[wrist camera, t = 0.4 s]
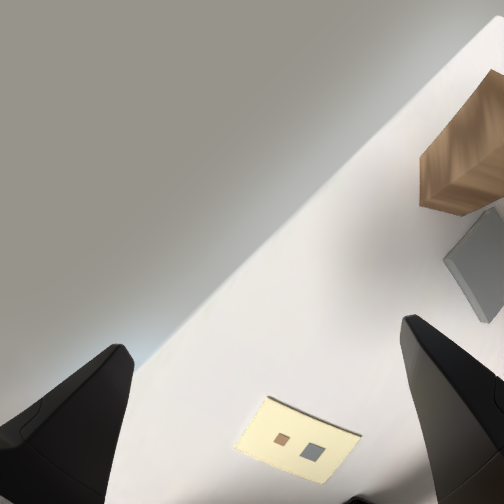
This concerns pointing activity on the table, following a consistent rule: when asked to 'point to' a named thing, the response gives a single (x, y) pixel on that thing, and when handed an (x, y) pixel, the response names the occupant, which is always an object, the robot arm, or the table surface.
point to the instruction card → (295, 442)
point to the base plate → (481, 265)
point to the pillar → (467, 154)
